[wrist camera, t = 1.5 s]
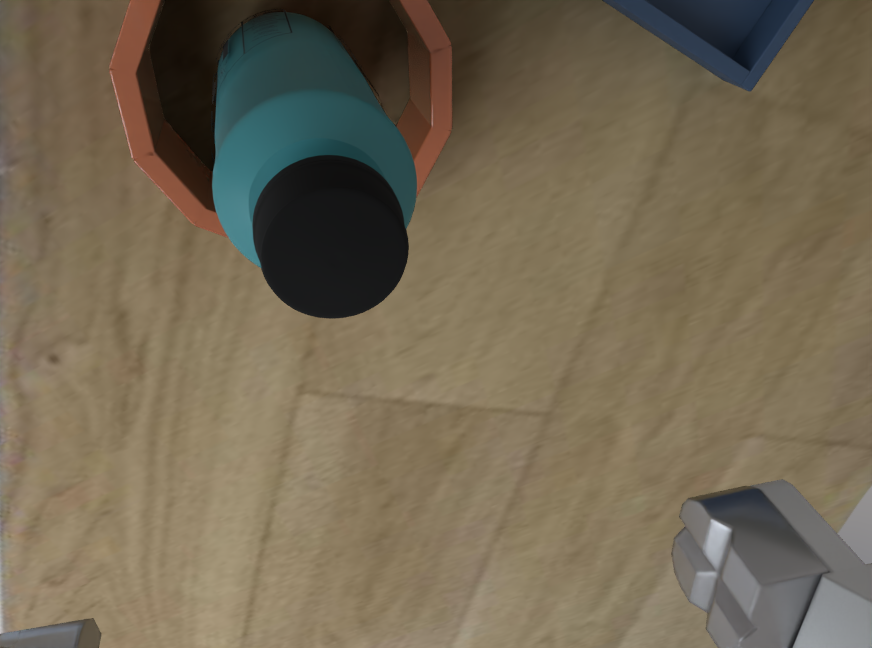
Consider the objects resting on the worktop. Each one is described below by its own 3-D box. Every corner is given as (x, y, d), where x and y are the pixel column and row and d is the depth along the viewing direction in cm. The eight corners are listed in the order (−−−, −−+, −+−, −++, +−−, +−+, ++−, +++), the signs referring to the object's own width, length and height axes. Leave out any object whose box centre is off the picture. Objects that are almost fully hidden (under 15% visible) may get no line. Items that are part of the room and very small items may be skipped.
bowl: (91, 144, 34) (71, 181, 30) (191, -165, 29) (184, -171, 25) (354, 245, 40) (368, 288, 36) (477, 6, 35) (509, 24, 31)
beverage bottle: (208, -3, 32) (181, 133, 16) (356, 4, 34) (471, 133, 17) (220, 140, 35) (208, 375, 19) (354, 140, 37) (449, 357, 21)
